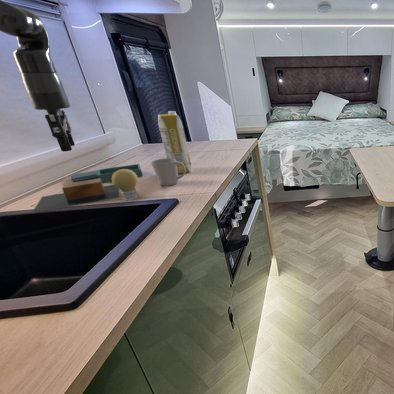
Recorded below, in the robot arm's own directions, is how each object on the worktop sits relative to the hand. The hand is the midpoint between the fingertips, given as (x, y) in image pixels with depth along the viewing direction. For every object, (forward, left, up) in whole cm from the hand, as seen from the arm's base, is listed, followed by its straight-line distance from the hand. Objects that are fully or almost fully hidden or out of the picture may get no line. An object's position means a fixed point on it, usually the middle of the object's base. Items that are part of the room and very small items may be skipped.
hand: (68, 148), depth 87 cm
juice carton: (+29, +16, -17) cm, 37 cm away
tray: (+9, +20, -17) cm, 28 cm away
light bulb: (+11, -9, -17) cm, 22 cm away
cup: (+24, +1, -17) cm, 29 cm away
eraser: (0, 0, -16) cm, 16 cm away
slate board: (-2, +2, -17) cm, 17 cm away
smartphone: (+1, +30, -17) cm, 34 cm away
